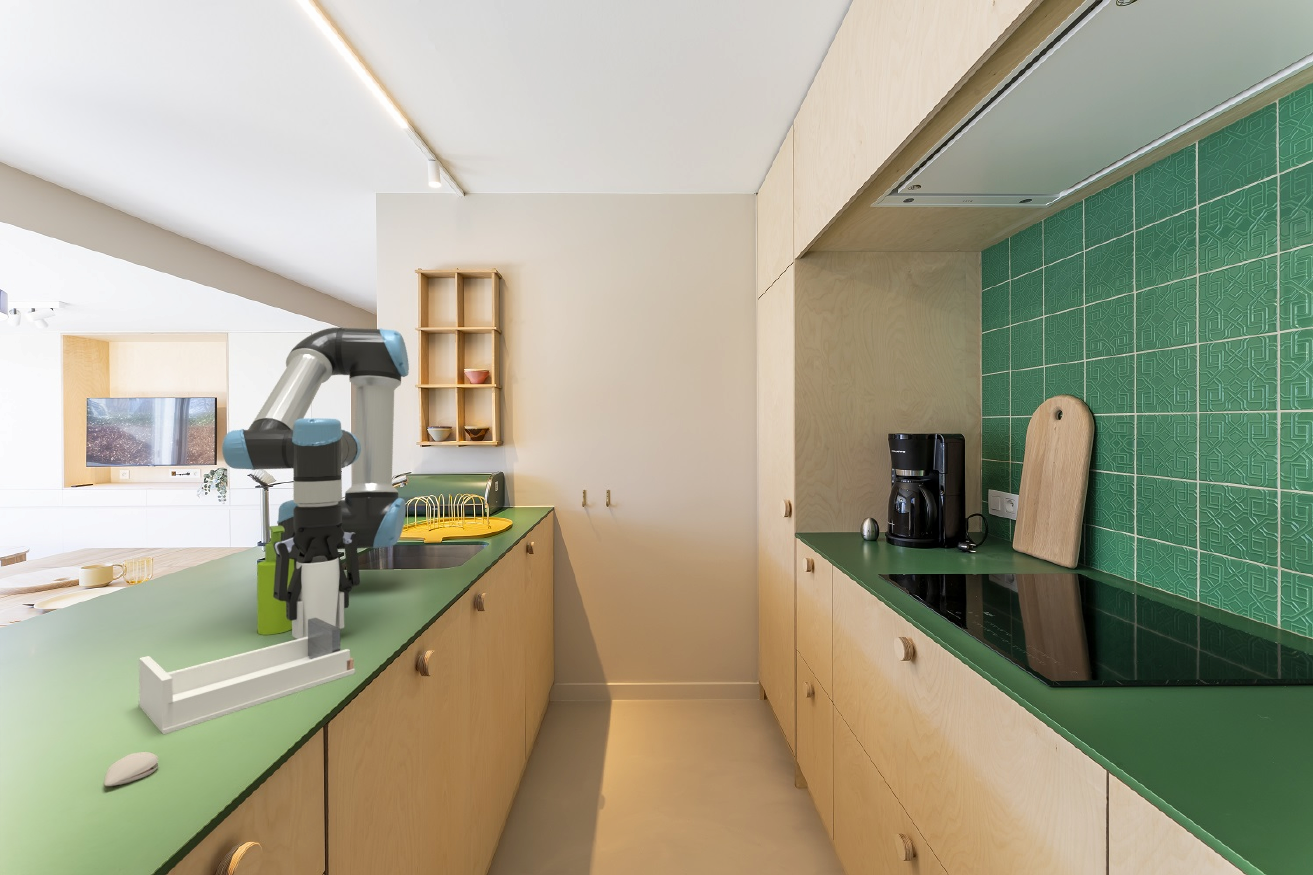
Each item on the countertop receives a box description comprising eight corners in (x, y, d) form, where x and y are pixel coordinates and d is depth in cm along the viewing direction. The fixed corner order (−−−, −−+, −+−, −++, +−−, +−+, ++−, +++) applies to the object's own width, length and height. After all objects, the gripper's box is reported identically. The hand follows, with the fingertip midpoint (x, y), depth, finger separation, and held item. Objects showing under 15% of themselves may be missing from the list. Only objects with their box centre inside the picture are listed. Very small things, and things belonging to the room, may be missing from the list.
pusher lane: (319, 654, 96) (319, 614, 96) (355, 674, 88) (354, 630, 88) (138, 706, 78) (138, 657, 78) (163, 736, 70) (163, 681, 70)
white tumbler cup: (333, 632, 107) (333, 553, 107) (345, 642, 102) (344, 559, 102) (292, 642, 102) (291, 559, 102) (301, 652, 97) (301, 565, 97)
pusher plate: (315, 653, 94) (315, 617, 94) (340, 666, 89) (340, 628, 89) (307, 655, 93) (307, 619, 93) (332, 669, 88) (332, 630, 88)
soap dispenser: (260, 638, 104) (259, 529, 104) (255, 628, 109) (255, 525, 109) (297, 631, 108) (297, 526, 108) (291, 622, 113) (290, 522, 113)
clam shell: (167, 768, 64) (167, 746, 64) (127, 796, 59) (127, 772, 59) (128, 769, 64) (128, 747, 64) (84, 798, 59) (84, 773, 59)
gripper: (362, 497, 112) (362, 614, 112) (248, 507, 97) (248, 642, 97) (381, 500, 107) (381, 621, 108) (264, 511, 92) (265, 652, 92)
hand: (318, 631), depth 102 cm, fingers closed on white tumbler cup, 6 cm apart
